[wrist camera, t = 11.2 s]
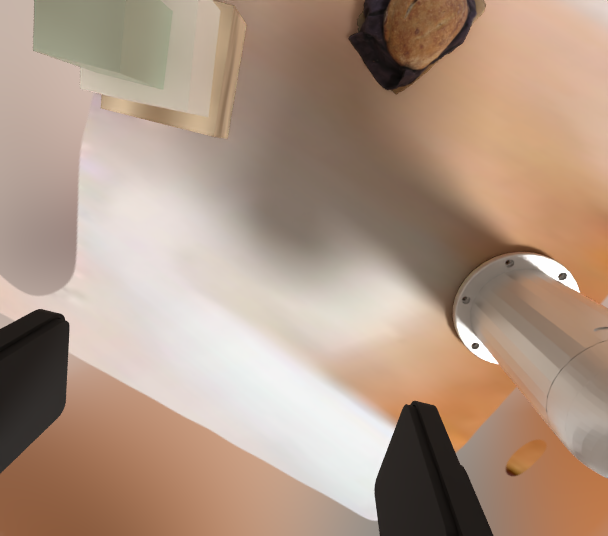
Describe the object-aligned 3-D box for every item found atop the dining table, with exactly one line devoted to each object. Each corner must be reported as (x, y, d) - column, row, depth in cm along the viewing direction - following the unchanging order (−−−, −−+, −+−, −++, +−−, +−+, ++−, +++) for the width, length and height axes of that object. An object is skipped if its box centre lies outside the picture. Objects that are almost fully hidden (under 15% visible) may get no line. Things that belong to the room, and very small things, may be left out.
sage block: (172, 11, 26) (128, -29, 20) (163, 89, 27) (119, 73, 21) (100, -8, 26) (35, -54, 20) (95, 72, 27) (33, 50, 21)
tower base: (247, 26, 35) (234, 5, 30) (228, 138, 37) (213, 136, 33) (140, -2, 34) (110, -26, 30) (129, 113, 37) (100, 108, 33)
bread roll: (431, -66, 32) (444, -94, 28) (490, 16, 33) (509, 0, 30) (336, 32, 35) (337, 18, 31) (395, 105, 36) (402, 100, 32)
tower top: (220, 10, 30) (199, -17, 25) (208, 117, 32) (187, 111, 28) (121, -10, 30) (82, -41, 25) (116, 98, 32) (79, 88, 28)
